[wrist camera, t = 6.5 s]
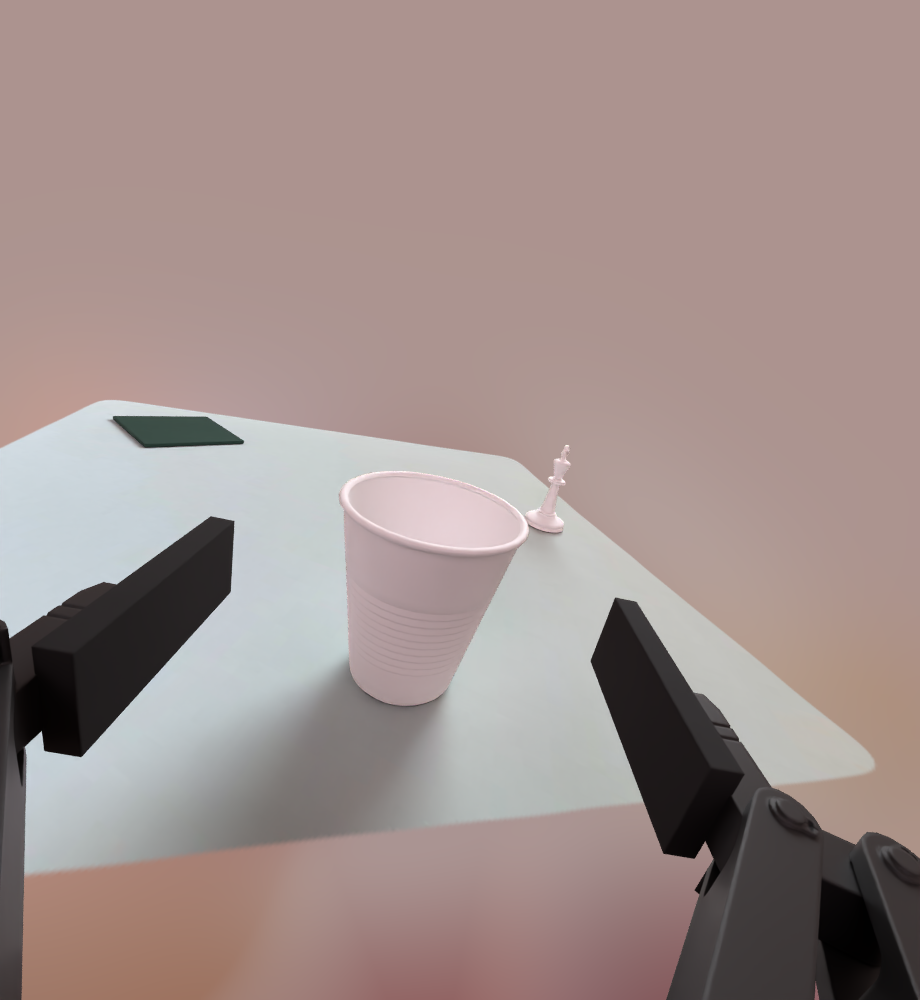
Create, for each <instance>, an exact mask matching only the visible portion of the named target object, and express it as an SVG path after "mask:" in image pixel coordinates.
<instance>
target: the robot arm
mask: <svg viewBox="0 0 920 1000" xmlns="http://www.w3.org/2000/svg"><path fill="white" fill-rule="evenodd" d="M233 538H234V521H231V520H226V519H221V518H216V517H212V516H211V517H209V518H208V519H207V520H205V521H204V522H202V523H201V524H200V525H198V526H197V527H196V528H194V529H193V530H191V531H190V532H189V533H187V534H186V535H184V536H183V537H182V538H180V539H179V540H178V541H176V542H175V543H173V544H172V545H171V546H169V547H168V548H167V549H165V550H164V551H162V552H161V553H160V554H158V555H157V556H155V557H154V558H153V559H151V560H150V561H149V562H147V563H146V564H144V565H143V566H142V567H140V568H139V569H138V570H136V571H135V572H133V573H132V574H131V575H129V576H128V577H126V578H125V579H124V580H122V581H121V582H120V583H118V584H117V585H116V584H111V583H106V582H103V583H100V584H97V585H95V586H92V587H90V588H87V589H84V590H82V591H80V592H78V593H77V594H75V595H74V596H72V597H71V598H69V599H68V600H66V601H65V602H63V603H62V605H61V606H57V607H56V608H54V609H53V610H51V611H50V612H48V614H47V616H42V617H41V618H39V619H38V620H36V621H35V622H33V623H32V624H30V625H29V626H27V627H26V628H25V629H23V630H22V631H20V632H19V633H17V634H16V635H14V636H13V637H11V638H10V639H9V633H8V628H7V626H6V623H5V622H4V621H2V620H0V1000H21V993H22V992H21V991H22V945H23V943H22V942H23V897H24V851H25V804H26V750H25V746H26V745H27V744H28V743H29V742H30V741H31V740H32V739H34V738H35V737H36V736H37V735H38V734H39V733H40V732H41V731H42V736H43V743H44V751H47V752H53V753H59V754H65V755H71V756H77V757H82V756H83V755H84V754H85V753H86V752H87V750H88V749H89V748H90V747H91V746H92V745H93V744H94V743H95V742H96V740H97V739H98V738H99V737H100V736H101V735H102V734H103V733H104V732H105V731H106V729H107V728H108V727H109V726H110V725H111V724H112V723H113V722H114V721H115V719H116V718H117V717H118V716H119V715H120V714H121V713H122V712H123V711H124V710H125V708H126V707H127V706H128V705H129V704H130V703H131V702H132V701H133V700H134V698H135V697H136V696H137V695H138V694H139V693H140V692H141V691H142V690H143V688H144V687H145V686H146V685H147V684H148V683H149V682H150V681H151V680H152V679H153V677H154V676H155V675H156V674H157V673H158V672H159V671H160V670H161V669H162V667H163V666H164V665H165V664H166V663H167V662H168V661H169V660H170V659H171V658H172V656H173V655H174V654H175V653H176V652H177V651H178V650H179V649H180V648H181V646H182V645H183V644H184V643H185V642H186V641H187V640H188V639H189V638H190V637H191V635H192V634H193V633H194V632H195V631H196V630H197V629H198V628H199V627H200V625H201V624H202V623H203V622H204V621H205V620H206V619H207V618H208V617H209V615H210V614H211V613H212V612H213V611H214V610H215V609H216V608H217V607H218V606H219V604H220V603H221V602H222V601H223V600H224V599H225V598H226V597H227V596H228V594H229V593H230V592H231V576H232V557H233ZM591 663H592V666H593V669H594V671H595V674H596V677H597V679H598V682H599V685H600V687H601V690H602V692H603V695H604V698H605V700H606V703H607V706H608V708H609V711H610V714H611V716H612V719H613V722H614V724H615V727H616V730H617V732H618V735H619V737H620V740H621V743H622V745H623V748H624V751H625V753H626V756H627V759H628V761H629V764H630V767H631V769H632V772H633V775H634V777H635V780H636V782H637V785H638V788H639V790H640V793H641V796H642V798H643V801H644V804H645V806H646V809H647V811H648V814H649V817H650V819H651V822H652V825H653V827H654V830H655V832H656V835H657V838H658V841H659V843H660V846H661V849H662V851H663V853H664V854H669V855H675V856H681V857H687V858H693V859H694V858H695V857H696V856H697V854H698V852H699V851H700V849H701V847H702V846H703V844H704V842H705V841H706V843H707V845H708V848H709V849H710V852H711V854H712V856H713V858H714V859H713V861H712V863H711V864H710V866H709V868H708V869H707V871H706V872H705V874H704V876H703V877H702V879H701V881H700V882H699V884H698V885H697V887H696V889H695V891H696V892H697V893H698V894H700V895H699V898H698V901H697V904H696V907H695V910H694V914H693V917H692V920H691V923H690V926H689V929H688V933H687V936H686V939H685V942H684V945H683V949H682V952H681V955H680V958H679V961H678V964H677V967H676V970H675V974H674V977H673V980H672V983H671V986H670V989H669V993H668V996H667V999H666V1000H814V998H815V981H816V985H817V989H818V995H819V1000H920V858H918V857H917V856H916V855H915V854H914V853H912V852H911V851H910V850H909V849H907V848H906V847H904V846H903V845H901V844H899V843H898V842H896V841H894V840H893V839H891V838H889V837H886V836H884V835H881V834H879V833H873V832H867V833H866V834H865V835H863V836H862V838H861V839H860V840H859V842H858V843H857V844H856V845H855V844H852V843H850V842H848V841H845V840H843V839H841V838H839V837H837V836H834V835H832V834H830V833H828V832H826V831H823V830H822V829H821V828H820V826H819V824H818V823H817V821H816V820H815V818H814V817H813V816H812V815H811V814H810V813H809V812H808V811H807V809H805V807H804V806H803V805H801V804H800V803H799V802H797V801H796V800H795V799H793V798H792V797H790V796H789V795H787V794H785V793H783V792H781V791H779V790H777V789H774V788H772V787H771V786H770V784H769V783H768V781H767V780H766V778H765V777H764V775H763V774H762V772H761V771H760V769H759V768H758V766H757V765H756V763H755V762H754V760H753V759H752V757H751V756H750V754H749V753H748V751H747V750H746V748H745V747H744V745H743V744H742V742H739V738H738V736H737V735H736V733H735V732H734V730H733V729H731V728H730V725H729V723H728V722H727V720H726V719H725V717H724V716H723V714H722V713H721V711H720V710H719V709H718V708H717V707H716V706H715V705H714V704H713V703H712V702H711V701H710V700H709V699H708V698H707V697H706V696H705V695H703V694H698V693H693V691H692V690H691V688H690V686H689V685H688V683H687V682H686V680H685V678H684V677H683V675H682V674H681V672H680V671H679V669H678V667H677V666H676V664H675V663H674V661H673V659H672V658H671V656H670V655H669V653H668V651H667V650H666V648H665V647H664V645H663V644H662V642H661V640H660V639H659V637H658V636H657V634H656V632H655V631H654V629H653V628H652V626H651V624H650V623H649V621H648V620H647V618H646V617H645V615H644V613H643V612H642V610H641V609H640V607H639V605H638V604H637V602H635V601H630V600H625V599H620V598H615V599H614V602H613V605H612V607H611V610H610V612H609V615H608V617H607V620H606V623H605V625H604V628H603V630H602V633H601V635H600V638H599V641H598V643H597V646H596V648H595V651H594V653H593V656H592V659H591Z"/></svg>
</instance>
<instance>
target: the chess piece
mask: <svg viewBox="0 0 920 1000" xmlns="http://www.w3.org/2000/svg"><path fill="white" fill-rule="evenodd" d="M569 448H570V446H568V445H565V448H564V451H562V453H561V455H562V458H560V459H555V460H554V476H553V477H549V478H548V481H549V482H551V483H552V484H551V487H550V489H549V491H548V493H547V496H546V498H545V500H544V502H543V504H542V506H541V507H540V508H538V510H530V511H527V512H526V515H525V516H524V518H525V520H526V522H527V523H528V524H529V525H530V526H532V527H534V528H536V529H539V530H542V531H546V532H551V533H558V532H561V531H563V526H564V523H563V521H562V520H561V519H560V518H559V517H557V516H556V512H555V505H556V500H557V494H558V490H559V486H560V485H565V481H564V480H562V477H563V476H564V475H565V473H566V471H567V470H568V469H569V467H570V466H571V464H570V462H568V461H567V460H566V457H567V455H568V454H569V452H570V451H569Z"/></svg>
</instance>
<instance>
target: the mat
mask: <svg viewBox="0 0 920 1000" xmlns="http://www.w3.org/2000/svg"><path fill="white" fill-rule="evenodd" d="M113 419H114V420H115V421H116V422H117V423H118V424H119V425H120V426H122V427H123V428H124V429H125V430H126V431H127V432H128V433H129V434H131V435H132V436H133V437H134V438H135V439H136V440H137V441H138V442H140V443H141V444H142V445H143V446H144V447H166V446H193V445H219V444H243V443H244V441H243V440H242V439H240V438H239V437H237V436H236V435H234V434H232V433H231V432H229V431H228V430H226V429H225V428H223V427H222V426H220V425H219V424H217V423H216V422H214V421H212V420H211V419H209V418H208V417H169V416H113Z"/></svg>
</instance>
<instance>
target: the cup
mask: <svg viewBox="0 0 920 1000" xmlns="http://www.w3.org/2000/svg"><path fill="white" fill-rule="evenodd" d="M339 501H340V505H341V506H342V508H343V510H344V533H345V560H346V573H347V574H346V579H347V583H346V584H347V604H348V605H347V609H348V633H349V634H348V644H349V666H350V672H351V674H352V677H353V679H354V680H355V682H356V683H357V685H358V686H359V687H360V688H361V689H362V690H363V691H365V692H366V693H367V694H369V695H370V696H372V697H374V698H375V699H378V700H380V701H382V702H385V703H388V704H392V705H399V706H412V705H419V704H423V703H427V702H429V701H432V700H434V699H436V698H437V697H439V696H440V695H441V694H443V693H444V691H445V690H446V689H447V688H448V686H449V684H450V682H451V680H452V678H453V676H454V674H455V672H456V670H457V668H458V666H459V664H460V662H461V660H462V658H463V656H464V654H465V652H466V650H467V648H468V646H469V644H470V642H471V640H472V638H473V636H474V634H475V632H476V630H477V628H478V626H479V624H480V622H481V620H482V618H483V616H484V614H485V611H486V610H487V608H488V606H489V604H490V602H491V600H492V597H493V596H494V594H495V592H496V590H497V588H498V586H499V584H500V582H501V580H502V578H503V576H504V574H505V572H506V570H507V568H508V566H509V564H510V562H511V560H512V558H513V556H514V554H515V552H516V550H517V548H518V547H520V546H521V545H522V544H523V543H524V542H525V541H526V539H527V537H528V535H529V528H528V523H527V522H526V520H525V518H524V516H523V515H522V514H521V513H520V512H519V511H518V510H517V509H516V508H515V507H513V506H512V505H511V504H509V503H508V502H506V501H505V500H503V499H501V498H500V497H498V496H496V495H494V494H492V493H490V492H488V491H486V490H483V489H481V488H478V487H475V486H473V485H470V484H467V483H464V482H461V481H457V480H454V479H450V478H445V477H441V476H436V475H431V474H425V473H416V472H404V471H382V472H374V473H368V474H364V475H360V476H357V477H355V478H353V479H351V480H349V481H348V482H346V483H345V484H344V485H343V486H342V488H341V490H340V493H339Z"/></svg>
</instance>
